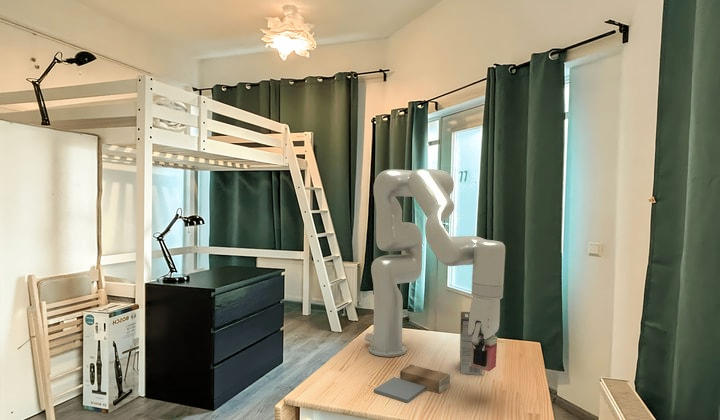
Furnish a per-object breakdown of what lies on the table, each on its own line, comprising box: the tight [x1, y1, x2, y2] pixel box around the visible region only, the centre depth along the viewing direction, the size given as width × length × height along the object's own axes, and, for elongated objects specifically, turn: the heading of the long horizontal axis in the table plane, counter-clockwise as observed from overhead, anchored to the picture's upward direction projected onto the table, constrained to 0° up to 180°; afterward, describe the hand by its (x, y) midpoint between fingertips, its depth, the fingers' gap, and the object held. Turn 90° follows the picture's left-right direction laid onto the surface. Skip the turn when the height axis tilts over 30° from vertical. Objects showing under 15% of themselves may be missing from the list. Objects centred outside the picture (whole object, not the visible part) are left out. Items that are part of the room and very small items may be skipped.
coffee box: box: [459, 311, 483, 376], centre depth 130 cm, size 9×6×16 cm
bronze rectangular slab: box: [399, 364, 451, 394], centre depth 119 cm, size 12×6×3 cm, turn 54°
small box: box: [471, 334, 498, 372], centre depth 109 cm, size 5×4×8 cm
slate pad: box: [373, 376, 427, 404], centre depth 114 cm, size 10×10×1 cm
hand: (483, 361), depth 110 cm, fingers closed on small box, 4 cm apart
